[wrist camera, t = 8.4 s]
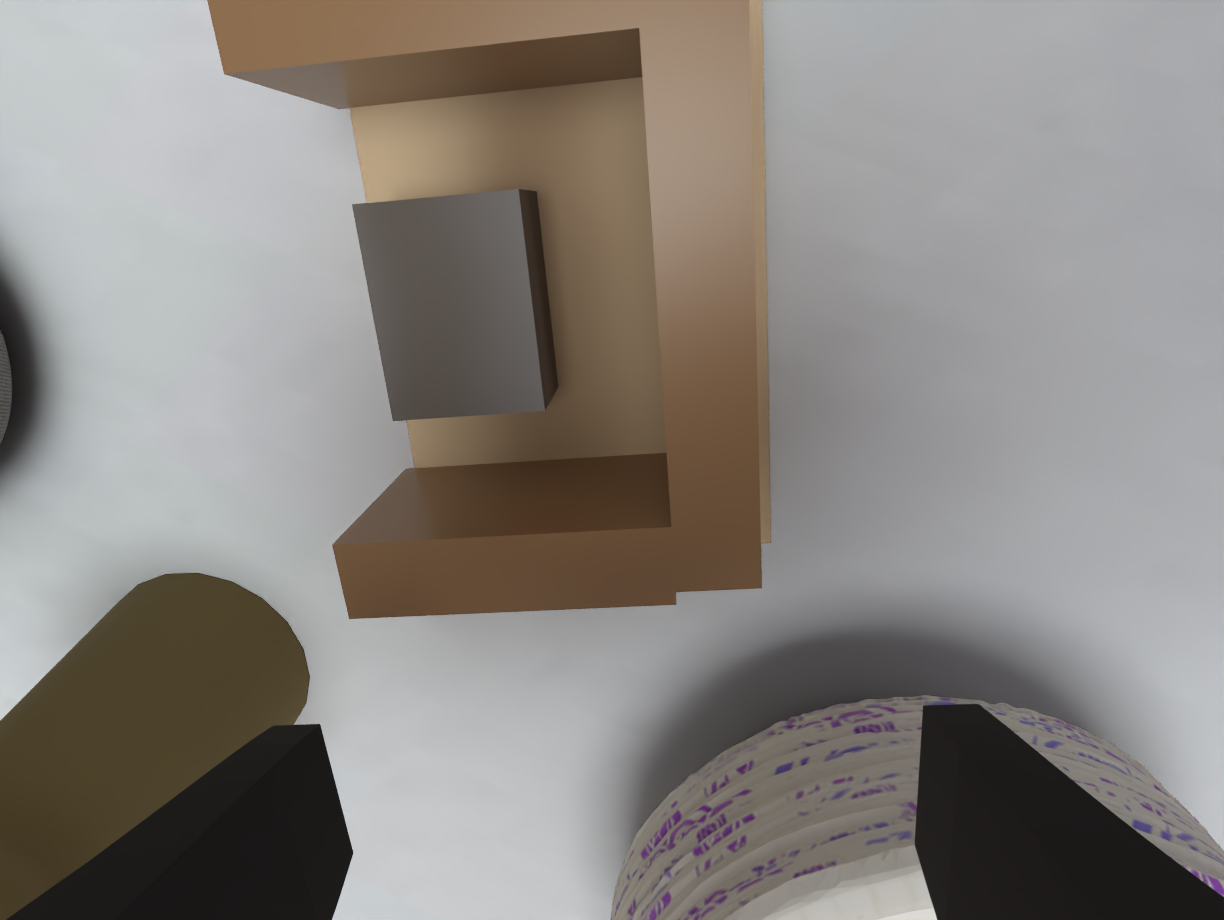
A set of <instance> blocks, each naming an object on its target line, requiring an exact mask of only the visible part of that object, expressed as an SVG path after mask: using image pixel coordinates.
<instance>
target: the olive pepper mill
mask: <svg viewBox="0 0 1224 920" xmlns="http://www.w3.org/2000/svg"><path fill="white" fill-rule="evenodd" d="M309 679H310V677H309V672H308V668H307V664H306V659H305V655H304V651H303V648H302V646H301V645H300V643H299V641H298V640H297V638H296V636H295V635H294V633H293V631H292V630H291V628H290V626H289V625H288V623H287V622H286V621H285V620H284V619H283V618H282V617H281V616H280V615H279V614H278V613H277V612H276V611H275V610H274V609H273V608H271V607H270V606H269V605H268V604H267V603H266V602H265V601H264V600H263V599H262V598H260V597H258V596H256V595H255V594H253V593H251V592H249V591H247V590H246V589H244V588H242V587H240V586H238V585H236V584H235V583H233V582H230V581H226V580H223V579H219V578H215V577H211V576H207V575H203V574H199V573H191V574H165V575H163V576H160V577H157V578H154V579H152V580H149V581H146V582H143V583H141V584H138V585H137V586H136V587H135V588H134V589H133V590H132V591H130V592H129V593H128V594H127V595H126V596H125V597H124V598H123V599H122V600H120V601H119V602H118V603H117V604H116V605H115V606H114V607H113V608H112V609H111V610H110V611H109V612H108V613H107V614H106V615H105V616H104V617H103V618H102V619H101V620H100V621H99V622H98V623H97V624H96V625H95V626H94V627H93V628H92V629H91V630H90V631H89V632H88V633H87V634H86V635H85V636H84V637H83V638H82V639H81V640H80V641H79V642H78V643H77V644H76V645H75V646H74V647H73V648H72V649H71V650H70V651H69V652H68V653H67V654H66V655H65V656H64V657H63V658H62V659H61V660H60V661H59V662H58V663H57V664H56V665H55V666H54V667H53V668H52V669H51V670H50V671H49V672H48V673H47V674H46V675H45V676H44V677H43V678H42V679H41V681H40V682H39V683H38V684H37V685H36V686H35V687H34V688H33V689H32V690H31V691H30V692H29V693H28V694H27V695H26V696H25V697H24V698H23V699H22V700H21V701H20V702H19V703H18V704H17V705H16V706H15V707H14V708H13V709H12V710H11V711H10V712H9V713H8V714H7V715H6V716H5V717H4V718H3V719H2V720H1V721H0V920H6V919H7V918H9V917H10V916H12V915H13V914H15V913H16V912H17V911H19V910H20V909H22V908H23V907H24V906H26V905H27V904H29V903H30V902H32V901H33V900H34V899H36V898H37V897H39V896H40V895H41V894H43V893H44V892H46V891H47V890H49V889H50V888H51V887H53V886H54V885H56V884H57V883H58V882H60V881H61V880H63V879H64V878H66V877H67V876H68V875H70V874H71V873H73V872H74V871H75V870H77V869H78V868H80V867H81V866H83V865H84V864H85V863H87V862H88V861H90V860H91V859H92V858H94V857H95V856H96V855H98V854H99V853H100V852H102V851H103V850H104V849H106V848H107V847H108V846H110V845H111V844H112V843H114V842H115V841H116V840H118V839H119V838H120V837H122V836H123V835H124V834H126V833H127V832H128V831H130V830H131V829H132V828H134V827H135V826H137V825H138V824H139V823H141V822H142V821H143V820H145V819H146V818H147V817H149V816H150V815H151V814H153V813H154V812H155V811H157V810H158V809H159V808H161V807H162V806H163V805H165V804H166V803H167V802H169V801H170V800H171V799H173V798H174V797H175V796H177V795H178V794H179V793H181V792H182V791H183V790H185V789H186V788H187V787H188V786H190V785H191V784H192V783H194V782H195V781H196V780H198V779H199V778H200V777H202V776H203V775H204V774H206V773H207V772H208V771H210V770H211V769H212V768H214V767H215V766H216V765H218V764H219V763H220V762H222V761H223V760H225V759H226V758H227V757H229V756H230V755H231V754H233V753H234V752H235V751H237V750H238V749H240V748H241V747H242V746H244V745H245V744H247V743H248V742H249V741H251V740H252V739H254V738H255V737H257V736H258V735H260V734H261V733H263V732H264V731H266V730H267V729H269V728H270V727H272V726H277V725H293V724H294V723H295V721H296V719H297V718H298V716H299V714H300V713H301V711H302V709H303V708H304V706H305V704H306V700H307V693H308V686H309Z"/></svg>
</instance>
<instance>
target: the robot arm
mask: <svg viewBox="0 0 1224 920" xmlns="http://www.w3.org/2000/svg"><path fill="white" fill-rule="evenodd" d="M915 848H916V851H917V855H918V858H919V861H920V865H921V868H922V871H923V875H924V878H925V881H926V885H927V888H928V892H929V895H930V898H931V901H932V904H933V908H934V911H935V914H936V917H937V920H1224V897H1223V896H1222V895H1220V894H1219V893H1218V892H1216V891H1215V890H1213V889H1212V888H1211V887H1209V886H1208V885H1207V884H1205V883H1204V882H1203V881H1201V880H1200V879H1199V878H1197V877H1196V876H1195V875H1193V874H1192V873H1191V872H1189V871H1188V870H1187V869H1185V868H1184V867H1183V866H1181V865H1180V864H1179V863H1177V862H1176V861H1175V860H1173V859H1172V858H1171V857H1169V856H1168V855H1167V854H1166V853H1164V852H1163V851H1162V850H1160V849H1159V848H1158V847H1156V846H1155V845H1154V844H1153V843H1151V842H1150V841H1149V840H1147V839H1146V838H1145V837H1143V836H1142V835H1141V834H1140V833H1138V832H1137V831H1136V830H1135V829H1133V828H1132V827H1131V826H1129V825H1128V824H1127V823H1126V822H1124V821H1123V820H1122V819H1120V818H1119V817H1118V816H1117V815H1115V814H1114V813H1113V812H1112V811H1110V810H1109V809H1108V808H1107V807H1105V806H1104V805H1103V804H1102V803H1100V802H1099V801H1098V800H1097V799H1095V798H1094V797H1093V796H1092V795H1090V794H1089V793H1088V792H1087V791H1085V790H1084V789H1083V788H1082V787H1080V786H1079V785H1078V784H1077V783H1075V782H1074V781H1073V780H1072V779H1071V778H1069V777H1068V776H1067V775H1066V774H1064V773H1063V772H1062V771H1061V770H1060V769H1058V768H1057V767H1056V766H1055V765H1053V764H1052V763H1051V762H1050V761H1048V760H1047V759H1046V758H1045V757H1044V756H1042V755H1041V754H1040V753H1039V752H1038V751H1036V750H1035V749H1034V748H1033V747H1031V746H1030V745H1029V744H1028V743H1027V742H1025V741H1024V740H1023V739H1022V738H1020V737H1019V736H1018V735H1017V734H1016V733H1014V732H1013V731H1012V730H1011V729H1010V728H1008V727H1007V726H1006V725H1005V724H1003V723H1002V722H1001V721H1000V720H998V719H997V718H996V717H995V716H993V715H992V714H991V713H990V712H988V711H987V710H986V709H985V708H983V707H982V706H981V705H979V704H952V705H923V714H922V730H921V747H920V763H919V779H918V795H917V811H916V827H915ZM352 855H353V850H352V846H351V842H350V839H349V835H348V831H347V827H346V823H345V819H344V815H343V811H342V808H341V804H340V800H339V796H338V792H337V788H336V784H335V780H334V777H333V773H332V769H331V765H330V761H329V757H328V753H327V749H326V746H325V742H324V738H323V734H322V730H321V726H320V724H310V725H277V726H272V727H270V728H269V729H267V730H266V731H264V732H263V733H261V734H260V735H258V736H257V737H255V738H254V739H252V740H251V741H249V742H248V743H247V744H245V745H244V746H242V747H241V748H240V749H238V750H237V751H235V752H234V753H233V754H231V755H230V756H229V757H227V758H226V759H225V760H223V761H222V762H220V763H219V764H218V765H216V766H215V767H214V768H212V769H211V770H210V771H208V772H207V773H206V774H204V775H203V776H202V777H200V778H199V779H198V780H196V781H195V782H194V783H192V784H191V785H190V786H188V787H187V788H186V789H185V790H183V791H182V792H181V793H179V794H178V795H177V796H175V797H174V798H173V799H171V800H170V801H169V802H167V803H166V804H165V805H163V806H162V807H161V808H159V809H158V810H157V811H155V812H154V813H153V814H151V815H150V816H149V817H147V818H146V819H145V820H143V821H142V822H141V823H139V824H138V825H137V826H135V827H134V828H132V829H131V830H130V831H128V832H127V833H126V834H124V835H123V836H122V837H120V838H119V839H118V840H116V841H115V842H114V843H112V844H111V845H110V846H108V847H107V848H106V849H104V850H103V851H102V852H100V853H99V854H98V855H96V856H95V857H94V858H92V859H91V860H90V861H88V862H87V863H85V864H84V865H83V866H81V867H80V868H78V869H77V870H75V871H74V872H73V873H71V874H70V875H68V876H67V877H66V878H64V879H63V880H61V881H60V882H58V883H57V884H56V885H54V886H53V887H51V888H50V889H49V890H47V891H46V892H44V893H43V894H41V895H40V896H39V897H37V898H36V899H34V900H33V901H32V902H30V903H29V904H27V905H26V906H24V907H23V908H22V909H20V910H19V911H17V912H16V913H15V914H13V915H12V916H10V917H9V918H7V919H6V920H332V918H333V915H334V912H335V909H336V906H337V903H338V900H339V897H340V894H341V891H342V887H343V884H344V881H345V878H346V874H347V871H348V868H349V865H350V862H351V858H352Z"/></svg>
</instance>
